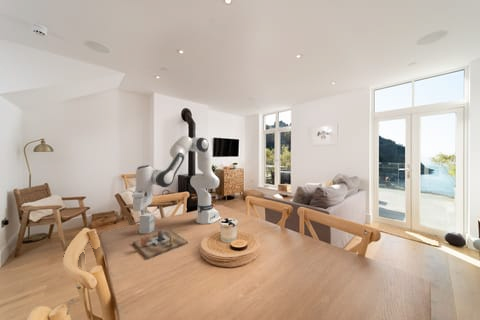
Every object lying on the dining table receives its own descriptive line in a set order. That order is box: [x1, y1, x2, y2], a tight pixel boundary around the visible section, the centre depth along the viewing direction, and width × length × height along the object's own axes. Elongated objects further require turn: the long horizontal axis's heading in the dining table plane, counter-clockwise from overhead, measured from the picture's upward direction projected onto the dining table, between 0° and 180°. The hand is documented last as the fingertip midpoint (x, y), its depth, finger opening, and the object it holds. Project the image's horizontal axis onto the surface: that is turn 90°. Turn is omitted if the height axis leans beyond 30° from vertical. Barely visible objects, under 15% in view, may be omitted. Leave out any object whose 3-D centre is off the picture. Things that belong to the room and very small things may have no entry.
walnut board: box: [132, 229, 189, 260], centre depth 113 cm, size 24×24×8 cm
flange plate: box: [140, 234, 170, 247], centre depth 110 cm, size 16×9×6 cm, turn 137°
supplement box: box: [138, 212, 155, 235], centre depth 131 cm, size 7×7×13 cm
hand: (143, 214), depth 111 cm, fingers closed
